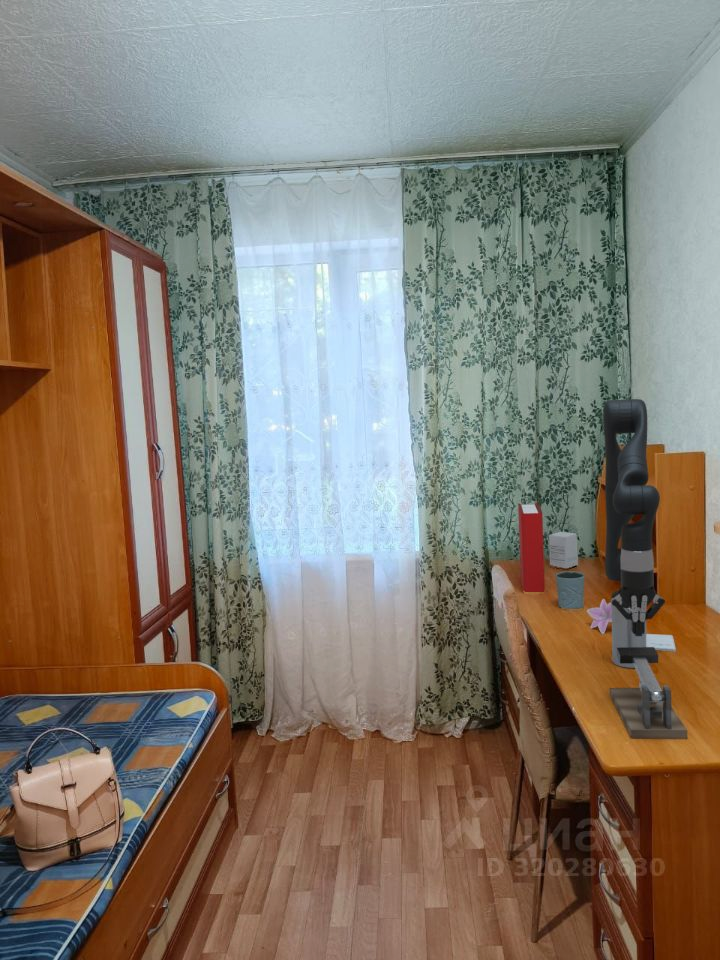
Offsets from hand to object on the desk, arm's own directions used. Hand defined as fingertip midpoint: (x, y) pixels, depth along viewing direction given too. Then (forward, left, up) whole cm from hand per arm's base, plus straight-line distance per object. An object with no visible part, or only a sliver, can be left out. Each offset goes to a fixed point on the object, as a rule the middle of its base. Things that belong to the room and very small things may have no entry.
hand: (637, 635), depth 182 cm
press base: (+7, 0, -18) cm, 19 cm away
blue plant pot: (-84, -4, -18) cm, 86 cm away
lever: (+7, 0, -10) cm, 12 cm away
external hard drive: (-44, +16, -19) cm, 50 cm away
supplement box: (-145, +2, -18) cm, 147 cm away
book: (-116, -15, -18) cm, 118 cm away
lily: (-59, +3, -18) cm, 62 cm away
